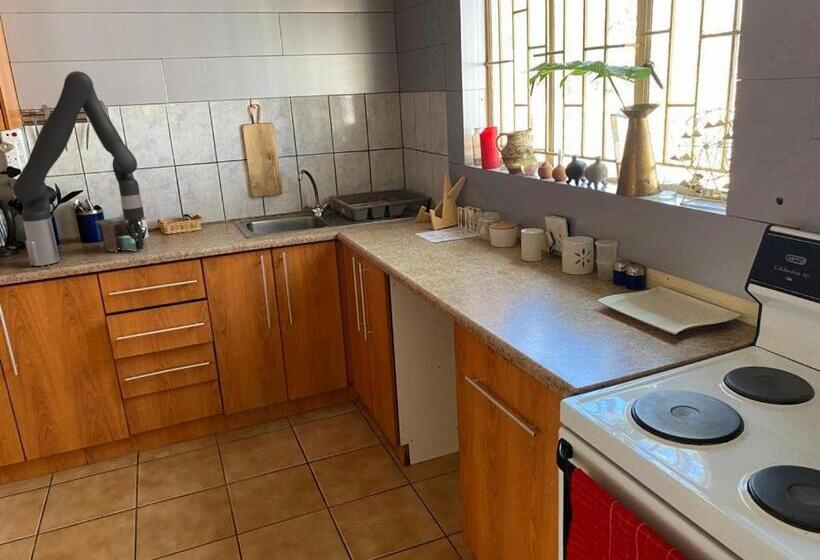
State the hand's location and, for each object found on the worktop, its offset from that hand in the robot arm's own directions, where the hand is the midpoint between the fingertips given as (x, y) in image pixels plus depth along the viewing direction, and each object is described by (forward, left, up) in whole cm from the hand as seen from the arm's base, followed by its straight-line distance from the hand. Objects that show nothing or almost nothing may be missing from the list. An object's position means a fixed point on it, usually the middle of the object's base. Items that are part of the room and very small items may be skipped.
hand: (140, 249), depth 261 cm
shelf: (0, +12, -1) cm, 12 cm away
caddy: (0, +8, -1) cm, 8 cm away
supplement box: (+10, +22, -1) cm, 25 cm away
